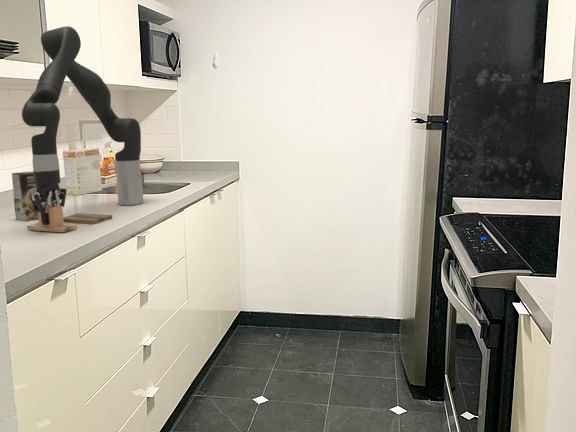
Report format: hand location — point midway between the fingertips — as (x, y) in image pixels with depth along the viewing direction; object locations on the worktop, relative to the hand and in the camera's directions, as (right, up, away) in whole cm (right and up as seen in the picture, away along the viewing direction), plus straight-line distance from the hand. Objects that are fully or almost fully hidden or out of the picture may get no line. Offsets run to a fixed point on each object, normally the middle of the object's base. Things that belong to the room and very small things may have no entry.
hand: (51, 223), depth 185 cm
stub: (0, -2, 0) cm, 2 cm away
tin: (+2, +15, +93) cm, 94 cm away
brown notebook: (+6, +1, +15) cm, 16 cm away
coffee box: (-15, +1, +21) cm, 26 cm away
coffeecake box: (-17, +12, +79) cm, 82 cm away
